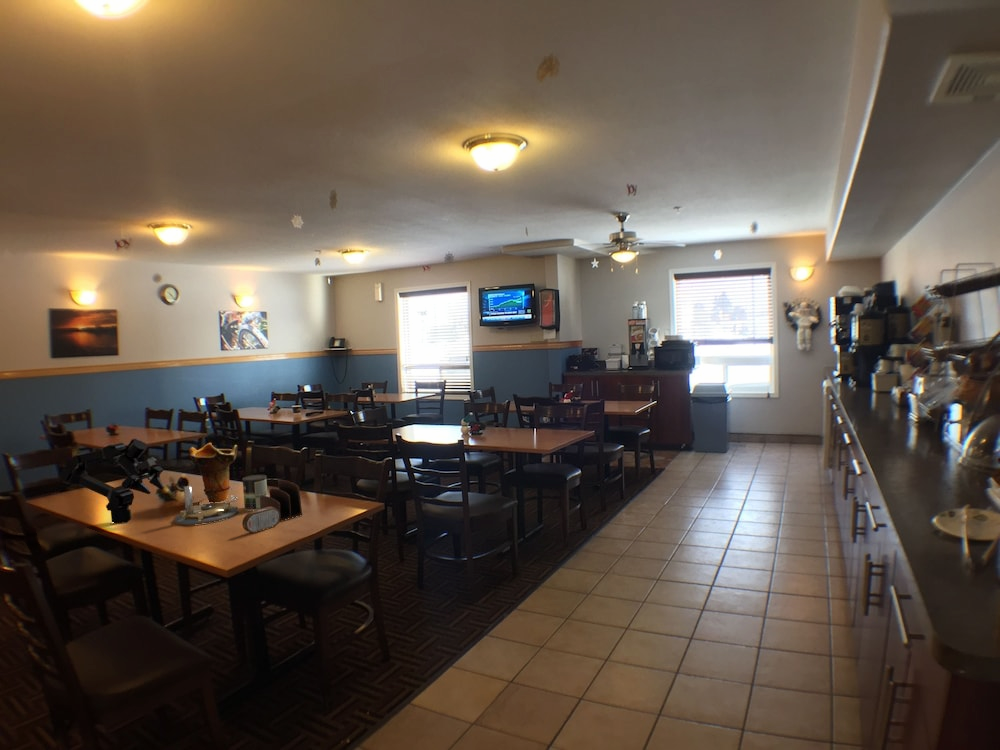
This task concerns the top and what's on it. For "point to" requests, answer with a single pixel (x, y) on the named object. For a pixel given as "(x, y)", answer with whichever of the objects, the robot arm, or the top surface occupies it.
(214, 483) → the decorative vase
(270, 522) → the tin
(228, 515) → the base plate
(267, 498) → the letter holder
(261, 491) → the coffee can
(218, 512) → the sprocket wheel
